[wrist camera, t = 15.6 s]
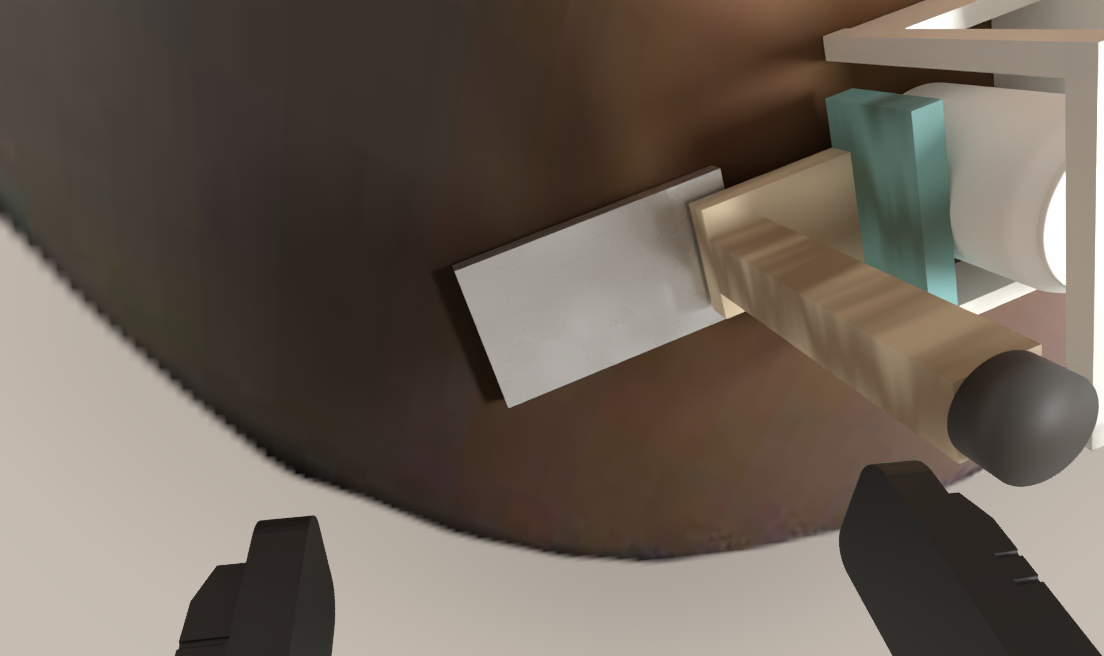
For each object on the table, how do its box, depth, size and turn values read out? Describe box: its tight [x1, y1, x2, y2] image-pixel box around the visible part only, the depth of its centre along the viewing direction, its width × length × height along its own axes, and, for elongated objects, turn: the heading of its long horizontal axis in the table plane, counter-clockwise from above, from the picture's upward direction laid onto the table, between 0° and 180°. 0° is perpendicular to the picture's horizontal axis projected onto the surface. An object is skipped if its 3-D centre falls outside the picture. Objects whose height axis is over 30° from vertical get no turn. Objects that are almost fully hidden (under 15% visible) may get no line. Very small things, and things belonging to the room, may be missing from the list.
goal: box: [823, 0, 1104, 451], centre depth 34 cm, size 16×10×15 cm, turn 17°
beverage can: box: [904, 83, 1066, 293], centre depth 35 cm, size 8×8×12 cm
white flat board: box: [452, 165, 725, 408], centre depth 38 cm, size 8×14×1 cm, turn 107°
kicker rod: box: [689, 88, 1099, 487], centre depth 30 cm, size 11×10×19 cm
